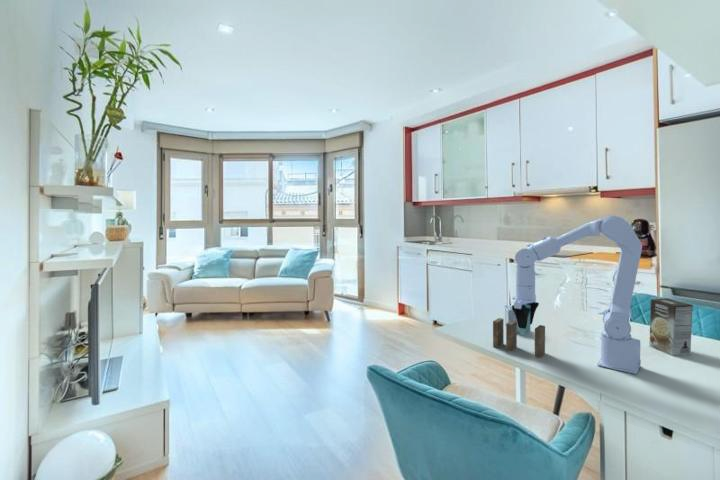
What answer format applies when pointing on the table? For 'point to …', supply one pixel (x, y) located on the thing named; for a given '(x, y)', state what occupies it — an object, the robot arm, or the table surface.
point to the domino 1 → (511, 335)
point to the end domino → (498, 333)
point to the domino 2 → (527, 330)
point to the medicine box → (510, 315)
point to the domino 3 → (539, 341)
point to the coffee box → (671, 326)
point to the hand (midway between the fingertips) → (525, 325)
